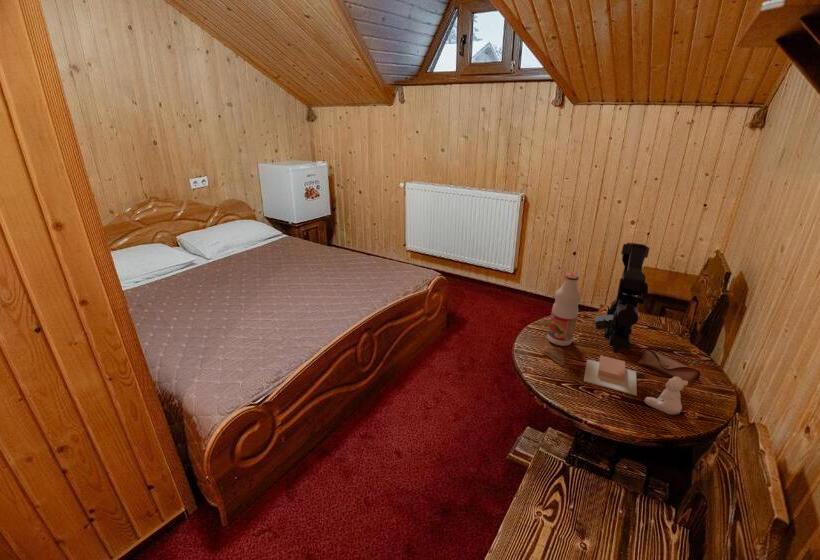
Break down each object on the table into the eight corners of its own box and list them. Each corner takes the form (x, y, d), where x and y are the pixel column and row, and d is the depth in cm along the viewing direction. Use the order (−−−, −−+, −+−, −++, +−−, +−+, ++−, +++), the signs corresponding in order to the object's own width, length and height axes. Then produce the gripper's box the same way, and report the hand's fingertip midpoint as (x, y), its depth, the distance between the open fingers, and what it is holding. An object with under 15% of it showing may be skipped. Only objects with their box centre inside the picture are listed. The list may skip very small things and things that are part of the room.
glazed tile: (600, 355, 146) (598, 369, 137) (625, 361, 142) (624, 376, 134) (599, 361, 147) (597, 375, 138) (623, 367, 143) (623, 382, 135)
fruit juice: (575, 346, 156) (589, 280, 145) (550, 345, 156) (562, 279, 145) (567, 334, 164) (580, 270, 153) (544, 333, 165) (555, 270, 154)
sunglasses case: (635, 362, 147) (643, 346, 146) (639, 365, 152) (647, 349, 151) (690, 387, 134) (699, 369, 134) (694, 389, 139) (702, 371, 139)
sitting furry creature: (665, 396, 130) (675, 365, 125) (689, 413, 122) (701, 381, 118) (642, 401, 127) (651, 370, 122) (665, 420, 120) (677, 387, 115)
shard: (563, 368, 144) (564, 363, 143) (541, 364, 146) (542, 359, 145) (562, 352, 153) (563, 348, 153) (542, 348, 155) (542, 344, 155)
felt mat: (586, 360, 148) (587, 359, 147) (635, 372, 141) (636, 371, 141) (583, 381, 136) (583, 380, 136) (636, 395, 130) (636, 394, 129)
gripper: (600, 296, 144) (591, 334, 150) (597, 318, 128) (587, 360, 134) (635, 303, 139) (625, 342, 145) (636, 327, 124) (624, 369, 130)
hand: (615, 352), depth 139 cm, fingers closed
